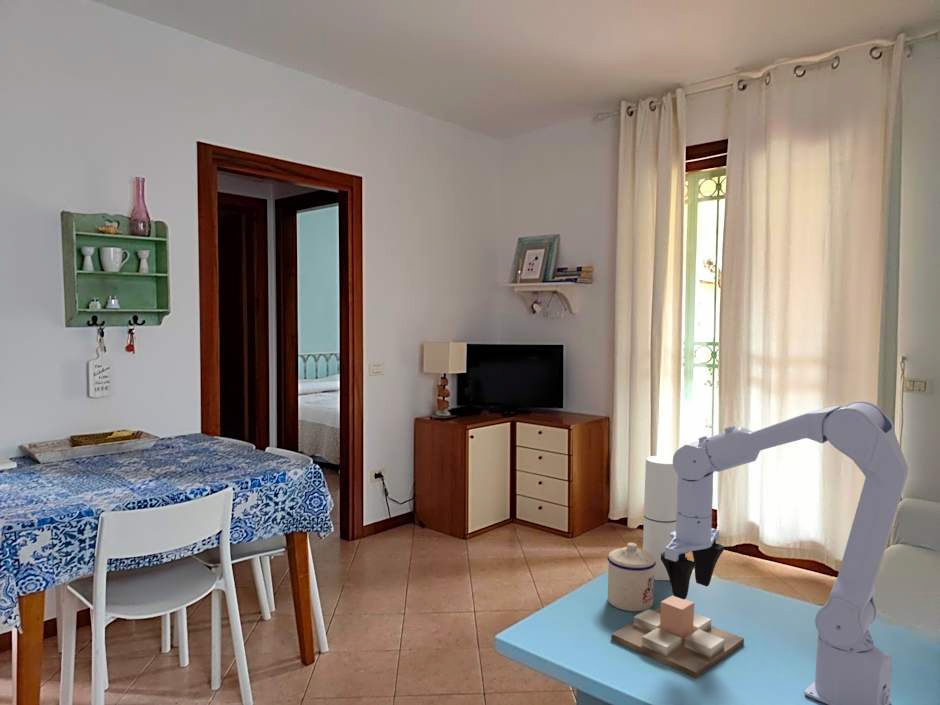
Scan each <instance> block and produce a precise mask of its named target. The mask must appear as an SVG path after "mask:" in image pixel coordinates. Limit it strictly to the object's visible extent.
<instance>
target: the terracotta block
mask: <svg viewBox="0 0 940 705" xmlns="http://www.w3.org/2000/svg"><path fill="white" fill-rule="evenodd" d="M660 607H661V616H660V629H661V630H664V631H666V632H669V633H671V634H673V635H676V636H678V637H680V638H681V643H683V642H685V638H686V637H687V636H689V635H691V634H692V633H693V621H694V613H695V602H694V601H690V600H688V599H687V598H686V599H681V598H678V597H675V596H673V594H672V595H671V596H669V597H667V598H665V599H663V600H662V601H660Z"/></svg>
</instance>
